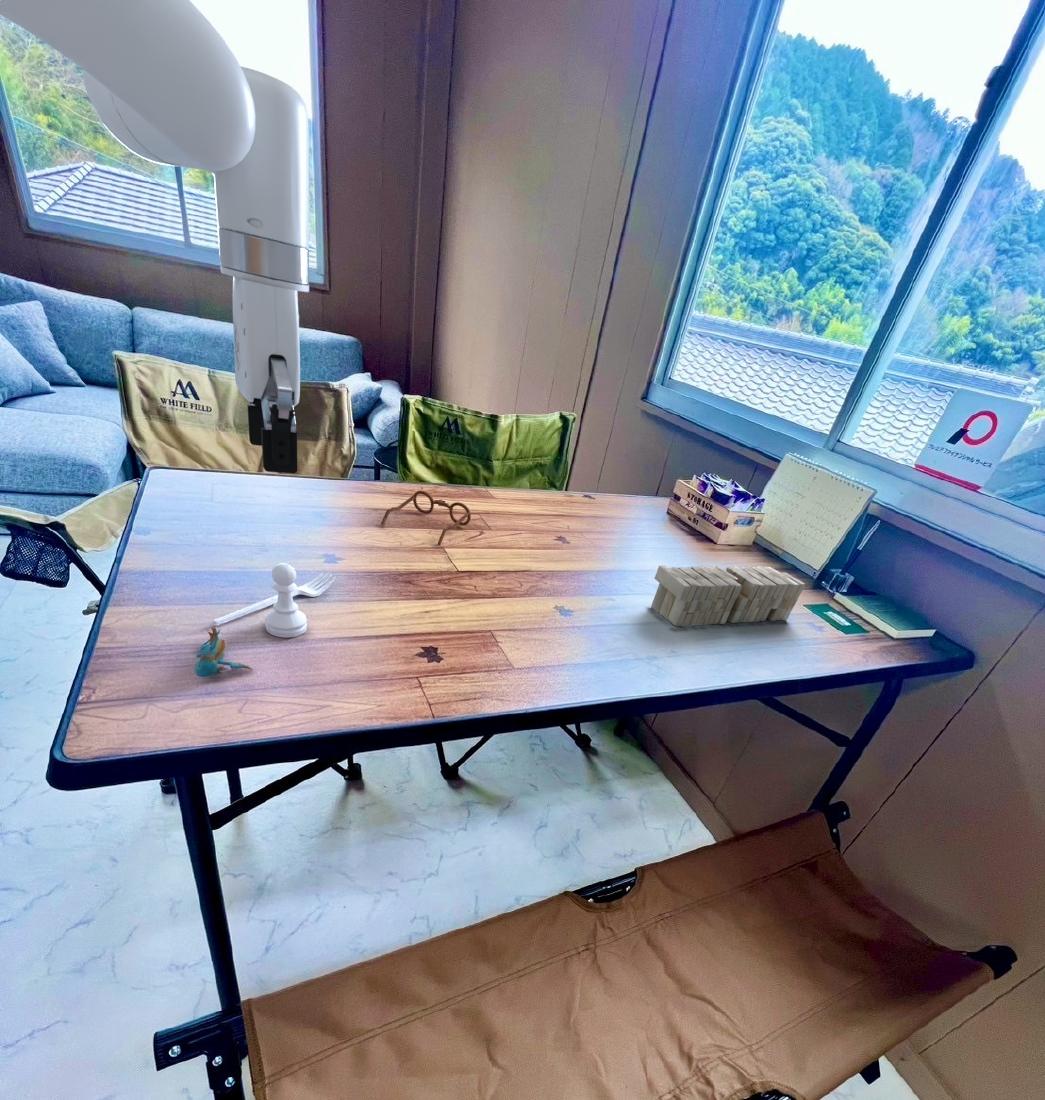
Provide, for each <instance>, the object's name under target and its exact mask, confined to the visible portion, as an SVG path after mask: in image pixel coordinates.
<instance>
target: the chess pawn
mask: <svg viewBox="0 0 1045 1100" xmlns="http://www.w3.org/2000/svg"><path fill="white" fill-rule="evenodd" d="M271 578H272V579H273V581H274V583H273V584H272V586H271V588H272V589H273V590H275V592H277V595H278V601H277V602H276V603H275V604H272V605H273V606H272V608H273V609H272V610H270V611H269V612H267V614H266V615H265V618H264V619H265V629H266V631H267V632H268V633H269V634H270V635H272V636H273V637H277V638H283V639H291V638H296V637H300V636H302V635H303V634H305V633H306V632H307V630H308V619H307V618H308V617H307V616H306V614H305V613H303V612H302V611H300V610H299V605H298V604H297V603H296V602H295V601H294V597H292V592H293V591H295V590H296V589H297V587H298V586H297V584H296V583H295V582H296V580H297V570H296V569H295V567H293V565H291V564H290V563H285V562H281V563H278V564H276V565H274V566H273V568H272V571H271Z"/></svg>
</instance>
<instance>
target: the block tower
mask: <svg viewBox="0 0 1045 1100" xmlns="http://www.w3.org/2000/svg"><path fill="white" fill-rule="evenodd" d="M654 580H656V582H658V583H659V584H658V587H657V589H656V591H655V594H654V597H653V599H652V602H651V604H650V605H651V606H650V608H651V609H652V610H654V611H655V612H656V613H657V614H660V615H661V616H662V617H663V618H664V619H665V620H668V622H670V623H672V625H674V626H676V627H677V626H678V627H679V626H681V627H692V626H705V625H713V624H714V625H717V624H718V625H725V624H726V623H727V621H728V622H729V623H731V624H735V623H754V622H755V623H757V622H765V621H766V620H769V621H771V622H775V621H787V620H788V619H789V616H790V615H791V613H792V611H793V609H794V607H795V606H796V603H797V602H798V600H799V598H800V596H801V594H802V592H803V590H804V588H806V587H805V586H806V583H805V582H803V581H801V580H800V579H798V578H797V577H796V578H795V577H794V576H792V575H790V574H789V573H788V572H786V571H785V572H784V571H783V572H780V571H778V570H776V569H775V568H774V567H772V566H744V567H743V566H726V569H724V568H723V567H721V566H700V565H699V566H698V565H697V566H690V567H688V566H687V567H686V566H685V567H683V566H681V567H679V566H678V567H676V566H675V567H673V566H672V567H668V566H666V565H664V564H663V565H662V564H661V565H658V567H657V570H656V572H655V575H654Z"/></svg>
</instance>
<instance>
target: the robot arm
mask: <svg viewBox="0 0 1045 1100" xmlns="http://www.w3.org/2000/svg"><path fill="white" fill-rule="evenodd" d="M0 16H2V17H4V18H5V19H7V20H9V21H10V22H11V23H14V24H15V25H17V26H19V27H20V28H22V29H23V30H25V31H27V32H29V33H30V34H31V35H33V36H34V37H36V38H38V39H39V40H41V41H43V42H44V43H45V44H47V45H48V46H50V47H51V48H52V49H54V51H55V50H56V52H58V53H60V54H61V55H62V56H64V57H65V58H67V59H68V60H69V61H70V62H72V63H73V64H74V65H76V66H77V67H79V68H80V69H82V74H83V75H82V76H83V82H84V87H85V90H86V93H87V96H88V99H89V102H90V104H91V106H92V108H93V110H94V112H95V114H96V115H97V117H98V118H99V119H100V121H101V123H102V125H104V127H105V128H106V129H107V131H108V132H109V133H110V134H111V135H112V136H113V137H114V138H115V139H116V140H117V142H119V143H120V144H121V145H123V146H124V147H125V148H126V149H128V150H129V151H130V152H132V153H133V154H135V155H137V156H139V157H141V158H143V159H144V160H147V161H150V162H152V163H155V164H159V165H163V166H171V167H178V168H179V167H180V168H181V167H182V168H189V169H194V170H195V169H196V170H200V171H206V172H208V173H210V174H211V175H212V176H213V180H214V181H213V182H214V195H215V196H214V197H215V209H216V221H217V222H216V223H217V236H218V237H217V238H218V250H219V252H218V253H219V264H220V266H219V267H220V274H223V275H227V276H228V277H232V329H233V351H234V352H233V353H234V356H233V357H234V380H235V384H236V386H237V387H236V388H238V390H239V391H240V394H241V395H242V396H243V398H244V399H245V400H246V401H247V402H248V404H247V406H246V407H247V423H248V440H249V443H250V444H251V445H252V446H259V447H261V450H262V468H263V470H264V471H265V472H268V473H280V474H281V473H282V474H296V473H297V472H298V432H297V422H296V416H295V409H294V408H295V407H296V406H297V405H299V403H300V397H301V396H300V395H301V347H300V346H301V344H300V343H301V342H300V314H299V295H298V294H299V293H298V292H304V293H310V250H309V249H310V164H309V163H310V153H309V152H310V133H309V132H310V128H309V126H310V125H309V115H308V114H309V113H308V109H307V106H306V103H305V101H304V99H303V98H302V96H301V95H300V93H299V92H298V91H297V90H295V89H294V88H293V86H291V85H290V84H288V83H286V82H284V81H283V80H281V79H278V78H277V77H274V76H271V75H269V74H267V73H264V72H261V71H259V70H257V69H256V70H255V69H252V68H249V67H245V66H241V65H240V63H239V61H238V59H237V57H236V56H235V54H234V53H233V51H232V50H231V48H230V47H229V45H228V44H227V43H226V41H225V39H224V38H223V36H222V35H221V33H219V32H218V31H217V29H216V28H215V27H214V25H213V24H212V23H211V22H210V21H209V20H208V18H206V16H205V15H204V14H203V12H202V11H201V10H199V9H198V8H197V6H196V5H195V4H194V3H193V2H192V1H191V0H0Z"/></svg>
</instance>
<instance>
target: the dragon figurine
mask: <svg viewBox="0 0 1045 1100" xmlns="http://www.w3.org/2000/svg"><path fill="white" fill-rule="evenodd" d="M210 628H211V631H208V630H207V634H208V635H209V639H208V640H207V641H205V642H204V643H203V644H202V645H201V646H200V647H199V650H200V651H202V652H198V653H196V655H195V657H196V659H199V660H198V661H197V662H196V663H195V666H194V673H195V675H196V677H199V678H207V677H210V676H213V675H215V676H216V675H218V674H219V675H221V674H223V672H222V671H225V670H228V669H229V668H230V669H245V670H246V669H247V670H251V671H253V670H254V669H253V668H252V667H251V666H249V665H246V664H244V663H242V662H233V661H223V659H224V657H225V652H226V650H227V640H226V639H222V638H221V639H220V638H219V634H220V633H221V629H218V630H217V628H216V625H213V627H210ZM224 666H229V668H228V667H224Z"/></svg>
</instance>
